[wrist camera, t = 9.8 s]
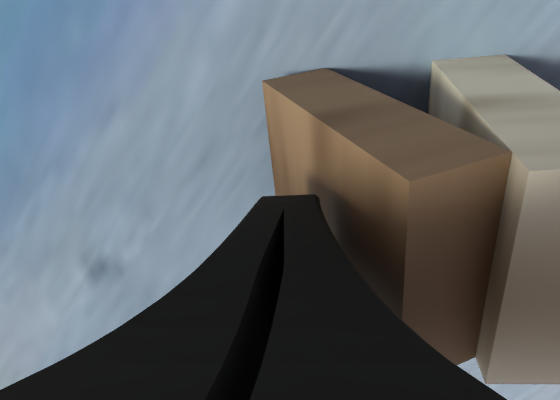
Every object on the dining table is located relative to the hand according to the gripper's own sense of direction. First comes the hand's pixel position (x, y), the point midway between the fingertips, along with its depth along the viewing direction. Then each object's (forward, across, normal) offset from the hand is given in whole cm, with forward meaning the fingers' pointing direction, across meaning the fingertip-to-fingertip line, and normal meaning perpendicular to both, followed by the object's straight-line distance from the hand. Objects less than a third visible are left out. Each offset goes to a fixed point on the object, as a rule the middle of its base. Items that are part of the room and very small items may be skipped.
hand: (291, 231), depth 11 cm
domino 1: (+4, 0, 0) cm, 4 cm away
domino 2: (+5, -5, 0) cm, 7 cm away
